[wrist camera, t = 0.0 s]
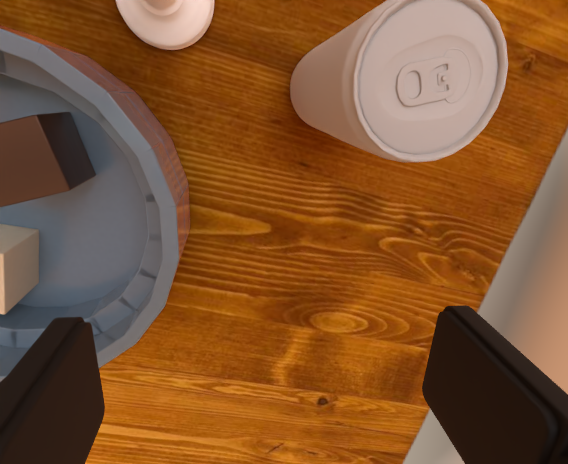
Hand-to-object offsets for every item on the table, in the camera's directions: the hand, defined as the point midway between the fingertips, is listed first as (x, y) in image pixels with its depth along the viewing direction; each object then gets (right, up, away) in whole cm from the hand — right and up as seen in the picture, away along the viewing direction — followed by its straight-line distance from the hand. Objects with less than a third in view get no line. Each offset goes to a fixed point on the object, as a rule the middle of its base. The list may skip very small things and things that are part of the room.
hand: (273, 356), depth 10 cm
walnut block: (-13, +8, +10) cm, 18 cm away
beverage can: (+3, +12, +12) cm, 17 cm away
